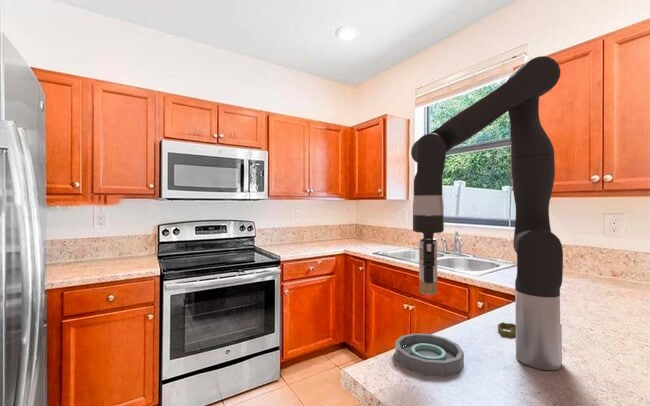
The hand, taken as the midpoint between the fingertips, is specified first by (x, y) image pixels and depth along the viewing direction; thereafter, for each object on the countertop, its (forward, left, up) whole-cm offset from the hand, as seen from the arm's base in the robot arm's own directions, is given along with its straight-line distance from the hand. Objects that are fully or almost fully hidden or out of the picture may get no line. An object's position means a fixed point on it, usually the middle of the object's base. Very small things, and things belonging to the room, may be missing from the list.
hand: (428, 280), depth 79 cm
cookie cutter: (-39, -1, -20) cm, 44 cm away
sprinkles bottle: (0, 0, -3) cm, 3 cm away
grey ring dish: (0, 0, -20) cm, 20 cm away
